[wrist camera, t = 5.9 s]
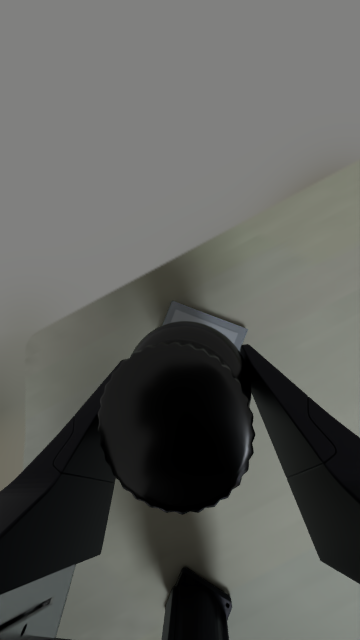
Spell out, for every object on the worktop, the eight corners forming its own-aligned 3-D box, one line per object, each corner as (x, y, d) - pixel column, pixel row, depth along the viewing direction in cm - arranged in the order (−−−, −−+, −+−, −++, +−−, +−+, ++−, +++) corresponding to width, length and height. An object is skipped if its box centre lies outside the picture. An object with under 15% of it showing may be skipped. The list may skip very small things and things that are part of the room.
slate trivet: (246, 329, 21) (248, 329, 20) (216, 404, 20) (217, 407, 20) (173, 301, 22) (172, 300, 21) (145, 370, 22) (142, 372, 21)
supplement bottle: (237, 345, 16) (351, 385, 4) (207, 404, 16) (228, 631, 4) (179, 316, 17) (129, 275, 5) (151, 370, 17) (29, 464, 5)
